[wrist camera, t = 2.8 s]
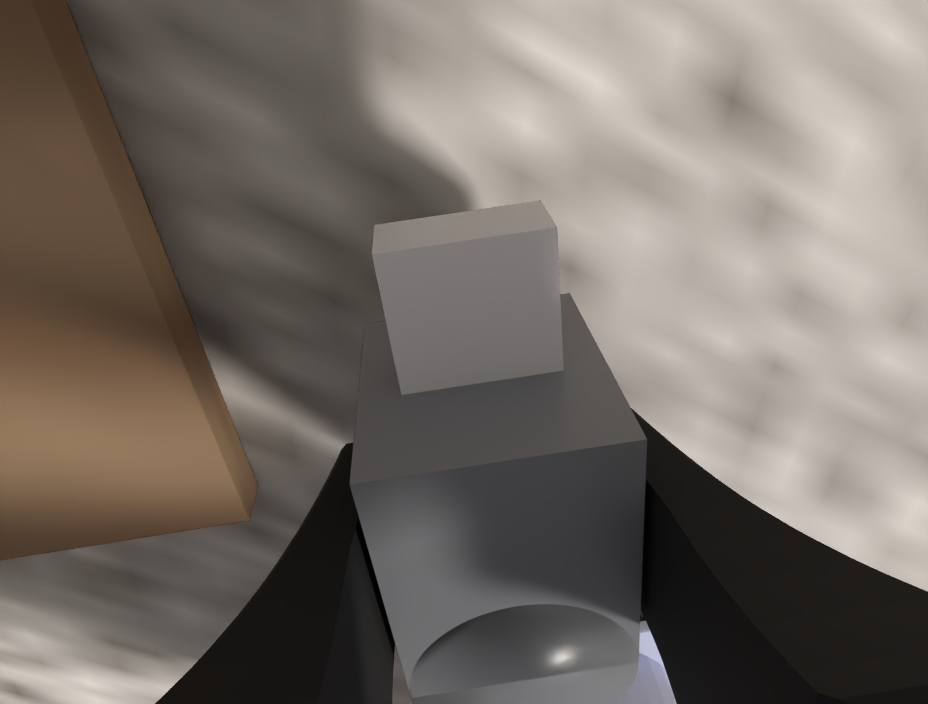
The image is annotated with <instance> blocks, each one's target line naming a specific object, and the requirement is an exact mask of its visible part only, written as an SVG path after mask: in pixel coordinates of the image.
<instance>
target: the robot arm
mask: <svg viewBox="0 0 928 704" xmlns="http://www.w3.org/2000/svg"><path fill="white" fill-rule="evenodd" d="M631 410H632V412H633V414H634V415H635V417H636V419H637V421H638V423H639V425H640V427H641V429H642V431H643V432H644V434H645V436H646V438H647V456H646V482H645V509H644V535H643V562H642V589H641V611H642V614H643V616H644V618H645V620H646V621H640V642H639V664H638V671H637V674H636V677H635V680H634V682H633V684H632V685H631V687H630V689H629V690H628V692H627V693H626V694H625V695H624V697H623V698H622V699H621V700H620V701H619V702H618V703H617V704H928V592H927V591H925V590H922V589H920V588H917V587H915V586H913V585H910V584H908V583H906V582H903V581H901V580H899V579H896V578H894V577H892V576H889V575H887V574H884V573H882V572H880V571H878V570H876V569H874V568H871V567H869V566H867V565H865V564H863V563H860V562H858V561H856V560H854V559H852V558H850V557H848V556H846V555H844V554H842V553H840V552H838V551H836V550H834V549H832V548H830V547H828V546H826V545H824V544H822V543H820V542H818V541H816V540H814V539H813V538H811V537H809V536H807V535H805V534H803V533H802V532H800V531H798V530H796V529H794V528H793V527H791V526H789V525H787V524H786V523H784V522H782V521H781V520H779V519H777V518H776V517H774V516H772V515H771V514H769V513H767V512H766V511H764V510H762V509H761V508H759V507H757V506H756V505H754V504H753V503H751V502H750V501H748V500H747V499H745V498H743V497H742V496H740V495H739V494H738V493H736V492H735V491H733V490H732V489H731V488H729V487H728V486H726V485H725V484H723V483H722V482H721V481H719V480H718V479H717V478H715V477H714V476H712V475H711V474H710V473H708V472H707V471H706V470H704V469H703V468H702V467H701V466H699V465H698V464H697V463H696V462H694V461H693V460H692V459H690V458H689V457H688V456H687V455H685V454H684V453H683V452H682V451H680V450H679V449H678V448H677V447H675V446H674V445H673V444H672V443H671V442H669V441H668V440H667V439H666V438H665V437H664V436H662V435H661V434H660V433H659V432H658V431H657V430H655V429H654V428H653V427H652V426H651V425H650V424H649V423H647V422H646V421H645V420H644V419H643V418H642V417H641V416H639V415H638V414H637V413H636V412H635V411H634V410H633V409H632V408H631ZM352 453H353V443H348V444H346V445H345V446H344V447H343V448H342V450H341V452H340V454H339V456H338V458H337V460H336V462H335V464H334V466H333V468H332V470H331V472H330V474H329V476H328V478H327V480H326V482H325V484H324V486H323V488H322V490H321V492H320V493H319V495H318V497H317V499H316V501H315V502H314V504H313V506H312V508H311V509H310V511H309V513H308V515H307V516H306V518H305V520H304V521H303V523H302V525H301V527H300V528H299V530H298V532H297V533H296V535H295V536H294V538H293V539H292V541H291V542H290V544H289V545H288V547H287V549H286V550H285V552H284V553H283V555H282V556H281V558H280V559H279V561H278V562H277V564H276V565H275V567H274V568H273V570H272V571H271V572H270V574H269V575H268V577H267V578H266V579H265V581H264V582H263V584H262V585H261V586H260V588H259V589H258V590H257V592H256V593H255V594H254V596H253V597H252V598H251V599H250V601H249V602H248V603H247V605H246V606H245V607H244V608H243V610H242V611H241V612H240V613H239V615H238V616H237V617H236V618H235V619H234V621H233V622H232V623H231V624H230V625H229V626H228V628H227V629H226V630H225V631H224V632H223V633H222V635H221V636H220V637H219V638H218V639H217V640H216V642H215V643H214V644H213V645H212V646H211V647H210V648H209V649H208V651H207V652H206V653H205V654H204V655H203V656H202V657H201V658H200V659H199V660H198V662H197V663H196V664H195V665H194V666H193V667H192V668H191V669H190V670H189V671H188V672H187V673H186V674H185V675H184V676H183V677H182V678H181V679H180V680H179V681H178V682H177V683H176V684H175V685H174V686H173V687H172V688H171V689H170V690H169V691H168V692H167V693H166V694H165V695H164V696H163V697H162V698H161V699H160V700H159V701H157V702H156V703H155V704H392V684H393V665H394V650H395V641H394V637H393V634H392V630H391V627H390V624H389V620H388V617H387V613H386V610H385V606H384V603H383V599H382V596H381V592H380V589H379V585H378V582H377V578H376V575H375V571H374V568H373V564H372V561H371V557H370V554H369V550H368V547H367V543H366V540H365V537H364V533H363V530H362V526H361V523H360V519H359V516H358V512H357V509H356V505H355V502H354V498H353V495H352V491H351V488H350V474H351V464H352Z"/></svg>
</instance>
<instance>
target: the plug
mask: <svg viewBox="0 0 928 704" xmlns="http://www.w3.org/2000/svg"><path fill="white" fill-rule="evenodd" d="M372 258H373V263H374V267H375V272H376V277H377V282H378V286H379V291H380V296H381V301H382V305H383V310H384V315H385V320H386V321H379V322H372V323H366V324H365V326H364V337H363V348H362V358H361V369H360V379H359V390H358V400H357V411H356V421H355V432H354V443H353V453H352V464H351V474H350V488H351V491H352V495H353V498H354V502H355V505H356V509H357V512H358V516H359V519H360V523H361V526H362V530H363V533H364V537H365V540H366V543H367V547H368V550H369V554H370V557H371V561H372V564H373V568H374V571H375V575H376V578H377V582H378V585H379V589H380V592H381V596H382V599H383V603H384V606H385V610H386V613H387V617H388V620H389V624H390V627H391V630H392V634H393V637H394V641H395V644H396V648H397V651H398V655H399V658H400V662H401V665H402V669H403V672H404V676H405V679H406V683H407V686H408V690H409V693H410V697H411V699H412V702H413V704H617V703H618V702H619V701H620V700H621V699H622V698H623V697H624V695H625V694H626V693H627V692H628V690H629V689H630V687H631V685H632V684H633V682H634V680H635V677H636V674H637V671H638V664H639V642H640V615H641V589H642V562H643V535H644V509H645V482H646V456H647V438H646V436H645V434H644V432H643V431H642V429H641V427H640V425H639V423H638V421H637V419H636V417H635V415H634V414H633V412H632V410H631V408H630V406H629V404H628V402H627V400H626V399H625V397H624V395H623V393H622V391H621V389H620V387H619V385H618V383H617V382H616V380H615V378H614V376H613V374H612V372H611V370H610V368H609V366H608V365H607V363H606V361H605V359H604V357H603V355H602V353H601V351H600V349H599V348H598V346H597V344H596V342H595V340H594V338H593V336H592V334H591V333H590V331H589V329H588V327H587V325H586V323H585V321H584V319H583V317H582V316H581V314H580V312H579V310H578V308H577V306H576V304H575V302H574V300H573V299H572V297H571V295H570V293H568V294H561V295H560V280H559V258H558V237H557V226H556V225H555V223H554V221H553V220H552V218H551V216H550V215H549V213H548V212H547V210H546V208H545V207H544V205H543V204H542V202H541V200H540V201H534V202H527V203H520V204H513V205H506V206H499V207H493V208H486V209H479V210H472V211H465V212H458V213H452V214H445V215H438V216H431V217H424V218H418V219H411V220H404V221H397V222H390V223H383V224H377V225H374V236H373V246H372Z"/></svg>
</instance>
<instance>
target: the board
mask: <svg viewBox="0 0 928 704" xmlns="http://www.w3.org/2000/svg"><path fill="white" fill-rule="evenodd" d="M257 490H258V485H257V482H256V480H255V477H254V475H253V472H252V470H251V467H250V465H249V462H248V460H247V457H246V455H245V452H244V450H243V447H242V444H241V442H240V439H239V437H238V434H237V432H236V429H235V427H234V424H233V422H232V419H231V417H230V414H229V412H228V409H227V407H226V404H225V401H224V399H223V396H222V394H221V391H220V389H219V386H218V384H217V381H216V379H215V376H214V374H213V371H212V369H211V366H210V364H209V361H208V359H207V356H206V353H205V351H204V348H203V346H202V343H201V341H200V338H199V336H198V333H197V331H196V328H195V326H194V323H193V321H192V318H191V316H190V313H189V310H188V308H187V305H186V303H185V300H184V298H183V295H182V293H181V290H180V288H179V285H178V283H177V280H176V278H175V275H174V273H173V270H172V267H171V265H170V262H169V260H168V257H167V255H166V252H165V250H164V247H163V245H162V242H161V240H160V237H159V235H158V232H157V230H156V227H155V225H154V222H153V219H152V217H151V214H150V212H149V209H148V207H147V204H146V202H145V199H144V197H143V194H142V192H141V189H140V187H139V184H138V182H137V179H136V176H135V174H134V171H133V169H132V166H131V164H130V161H129V159H128V156H127V154H126V151H125V149H124V146H123V144H122V141H121V139H120V136H119V133H118V131H117V128H116V126H115V123H114V121H113V118H112V116H111V113H110V111H109V108H108V106H107V103H106V101H105V98H104V96H103V93H102V91H101V88H100V85H99V83H98V80H97V78H96V75H95V73H94V70H93V68H92V65H91V63H90V60H89V58H88V55H87V53H86V50H85V48H84V45H83V42H82V40H81V37H80V35H79V32H78V30H77V27H76V25H75V22H74V20H73V17H72V15H71V12H70V10H69V7H68V5H67V2H66V0H0V560H4V559H11V558H17V557H23V556H30V555H36V554H42V553H49V552H55V551H61V550H68V549H74V548H80V547H86V546H93V545H99V544H105V543H112V542H118V541H124V540H131V539H137V538H143V537H149V536H156V535H162V534H168V533H175V532H181V531H187V530H194V529H200V528H206V527H212V526H219V525H225V524H231V523H238V522H244V521H250V517H251V513H252V510H253V506H254V502H255V498H256V494H257Z"/></svg>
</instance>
